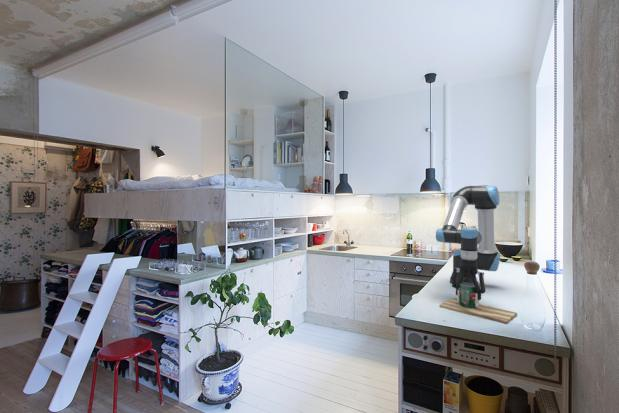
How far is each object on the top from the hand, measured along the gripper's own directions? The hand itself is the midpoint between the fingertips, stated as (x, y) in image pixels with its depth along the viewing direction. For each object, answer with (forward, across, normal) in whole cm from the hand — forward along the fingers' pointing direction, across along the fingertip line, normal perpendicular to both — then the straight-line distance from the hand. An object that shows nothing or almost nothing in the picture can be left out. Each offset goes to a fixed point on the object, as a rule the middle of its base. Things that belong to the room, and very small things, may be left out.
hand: (468, 304), depth 159 cm
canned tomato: (+1, 0, 0) cm, 1 cm away
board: (+2, +4, 0) cm, 5 cm away
